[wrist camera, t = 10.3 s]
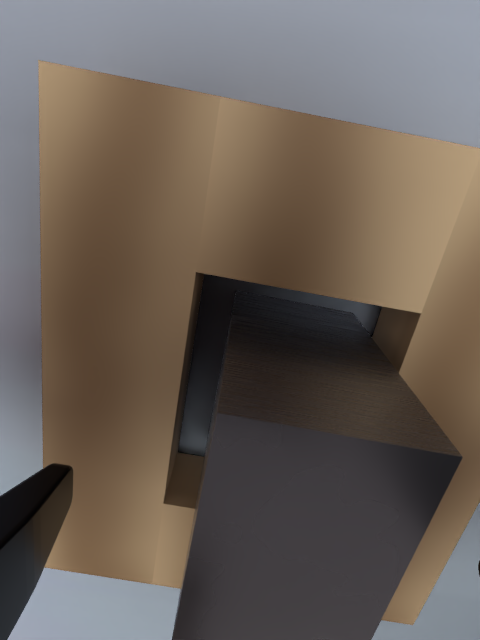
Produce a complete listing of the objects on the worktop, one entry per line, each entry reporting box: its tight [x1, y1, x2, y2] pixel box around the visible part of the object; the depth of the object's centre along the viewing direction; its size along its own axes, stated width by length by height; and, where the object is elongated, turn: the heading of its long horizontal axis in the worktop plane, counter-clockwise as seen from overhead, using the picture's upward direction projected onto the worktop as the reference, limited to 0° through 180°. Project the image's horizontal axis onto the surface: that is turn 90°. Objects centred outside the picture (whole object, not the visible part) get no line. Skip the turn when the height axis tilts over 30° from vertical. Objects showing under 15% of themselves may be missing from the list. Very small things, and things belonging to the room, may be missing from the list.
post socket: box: [38, 60, 480, 625], centre depth 12 cm, size 14×16×2 cm
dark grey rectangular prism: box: [172, 291, 463, 640], centre depth 10 cm, size 4×6×7 cm, turn 169°
